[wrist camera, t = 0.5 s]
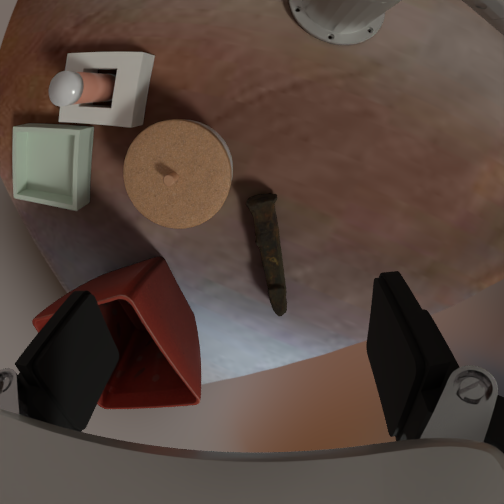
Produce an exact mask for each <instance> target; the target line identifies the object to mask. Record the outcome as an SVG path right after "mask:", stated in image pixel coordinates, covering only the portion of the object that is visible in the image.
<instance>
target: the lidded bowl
mask: <svg viewBox="0 0 504 504" xmlns="http://www.w3.org/2000/svg"><path fill="white" fill-rule="evenodd" d="M232 175H233V162H232V157H231V153H230V151H229V148H228V146H227V144H226V143H225V141H224V140H223V138H222V137H221V136H220V135H219V134H218V133H217V132H216V131H215V130H214V129H212V128H211V127H209V126H207V125H205V124H203V123H201V122H197V121H193V120H186V119H171V120H165V121H161V122H157V123H155V124H153V125H151V126H149V127H148V128H146V129H145V130H143V131H142V132H141V133H140V134H139V135H138V136H137V137H136V138H135V139H134V141H133V142H132V143H131V145H130V147H129V149H128V151H127V154H126V157H125V161H124V167H123V176H124V184H125V187H126V191H127V193H128V195H129V198H130V200H131V201H132V203H133V204H134V206H135V207H136V208H137V209H138V211H139V212H140V213H142V214H143V215H144V216H145V217H146V218H148V219H149V220H151V221H152V222H154V223H156V224H159V225H161V226H165V227H168V228H175V229H184V228H190V227H194V226H197V225H200V224H202V223H204V222H206V221H207V220H209V219H210V218H211V217H213V216H214V215H215V214H216V213H217V212H218V211H219V209H220V208H221V206H222V205H223V204H224V202H225V200H226V198H227V195H228V193H229V190H230V186H231V181H232Z"/></svg>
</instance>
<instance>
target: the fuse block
mask: <svg viewBox="0 0 504 504" xmlns="http://www.w3.org/2000/svg"><path fill="white" fill-rule="evenodd" d="M154 57H155V56H154V55H151V54H148V53H145V52H85V53H68V55H67V61H66V67H65V71H75V72H88V73H97V72H98V70H117V74H116V80H115V86H114V92H113V99H112V106H103V105H93V102H92V103H82V104H73V105H68V106H60V113H59V122H72V123H86V124H99V125H110V126H120V127H129V128H132V127H136V126H140V125H143V121H144V114H145V107H146V101H147V95H148V89H149V83H150V78H151V72H152V67H153V62H154Z"/></svg>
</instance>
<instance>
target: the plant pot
mask: <svg viewBox="0 0 504 504" xmlns="http://www.w3.org/2000/svg"><path fill="white" fill-rule="evenodd" d="M74 291H89V292H90V293H91V294H92V295H94V296H95V298H96V300H97V303H98V305H99V308H100V310H101V313H102V315H103V318H104V320H105V322H106V325H107V327H108V329H109V331H110V334H111V336H112V338H113V340H114V343H115V345H116V347H117V349H118V352H119V360H118V362H117V364H116V366H115V368H114V370H113V372H112V374H111V376H110V378H109V380H108V382H107V384H106V386H105V388H104V390H103V392H102V395H101V397H100V399H99V401H98V403H97V404H98V405H99V406H100V407H102V408H104V409H136V408H137V409H138V408H159V407H175V406H188V405H197V404H199V403H200V398H201V357H200V346H199V338H198V331H197V326H196V321H195V316H194V313H193V312H192V310H191V308H190V306H189V304H188V302H187V301H186V299H185V297H184V295H183V293H182V291H181V290H180V288H179V286H178V284H177V282H176V280H175V278H174V276H173V274H172V272H171V270H170V268H169V267H168V265H167V263H166V261H165V259H164V258H162V257H154V258H151V259H148V260H145V261H142V262H139V263H136V264H133V265H130V266H127V267H124V268H121V269H118V270H115V271H112V272H109V273H106V274H104V275H101V276H99V277H97V278H95V279H92V280H90V281H89V282H87V283H85V284H83V285H81V286H79V287H78V288H76V289H74V290H72V291H71V292H69V293H67V294H66V295H64V296H63V297H61V298H60V299H58V300H57V301H55V302H54V303H53V304H51V305H50V306H48V307H47V308H46V309H44V310H43V311H42V312H41V313H40V314H38V315H37V316H36V317H35V318H34V319H33V321H32V322H33V325H34V327H35V328H36V330H37V331H38V333H39V332H40V330H41V329H42V328H43V327H44V325H45V324H46V323H47V322H48V321H49V319H50V318H51V317H52V316H53V315H54V313H55V312H56V311H57V310H58V309H59V307H60V306H61V305H62V304H63V303H64V302H65V300H66V299H67V298H68V297H69V296H70V295H71V293H72V292H74ZM127 301H128V302H129V303H130V304H131V305H130V304H128V303H127Z"/></svg>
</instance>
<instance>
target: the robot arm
mask: <svg viewBox="0 0 504 504" xmlns="http://www.w3.org/2000/svg"><path fill="white" fill-rule="evenodd" d="M400 1H401V0H289V5H290V9H291V12H292V14H293V16H294V18H295V20H296V21H297V22H298V24H299V25H300V26H301V27H302V28H303V29H304V30H305V31H306V32H308V33H309V34H310V35H312V36H313V37H315V38H317V39H319V40H321V41H324V42H327V43H330V44H336V45H353V44H358V43H361V42H364V41H366V40H367V39H369V38H371V37H372V36H373V35H375V34H376V33H377V31H378V30H379V29H380V28H381V25H382V23H383V21H384V16H385V12H386V11H387V10H389V9H390V8H391V7H393V6H394V5H396V4H397V3H398V2H400ZM462 1H463V2H465V3H466V4H467V5H468V6H469V7H471V8H472V9H473V10H474V11H475V12H477V13H478V14H479V15H480V16H482V17H483V18H484V19H485V20H486V21H487V22H488V23H489V24H491V25H492V26H493V27H494V28H495V29H496V30H498V31H499V32H500V33H501V34H503V35H504V0H462ZM296 9H298V10H299V12H296ZM367 30H370V33H369V32H368V31H367ZM328 36H331V37H332V39H329V38H328ZM367 354H368V358H369V361H370V364H371V368H372V371H373V375H374V379H375V382H376V385H377V389H378V393H379V397H380V400H381V404H382V408H383V412H384V415H385V420H386V424H387V428H388V432H389V435H390V436H391V437H392V436H395V437H396V441H395V442H388V443H380V444H372V445H365V446H357V447H349V448H340V449H339V448H338V449H329V450H315V451H298V452H274V453H240V452H214V451H198V450H187V449H176V448H168V447H160V446H152V445H145V444H139V443H133V442H126V441H120V440H116V439H111V438H105V437H101V436H96V435H92V434H87V433H83V432H81V431H82V430H83V429H85V428H86V426H87V424H88V422H89V420H90V418H91V415H92V413H93V411H94V409H95V407H96V405H97V403H98V401H99V399H100V397H101V395H102V392H103V390H104V388H105V386H106V384H107V382H108V380H109V378H110V376H111V374H112V372H113V370H114V368H115V366H116V364H117V362H118V360H119V352H118V349H117V347H116V345H115V343H114V340H113V338H112V336H111V334H110V331H109V329H108V327H107V325H106V322H105V320H104V318H103V315H102V313H101V310H100V308H99V305H98V303H97V300H96V298H95V296H94V295H92V294H91V293H90V292H89V291H74V292H72V293H71V295H70V296H69V297H68V298H67V299H66V300H65V302H64V303H63V304H62V305H61V306H60V307H59V309H58V310H57V311H56V312H55V313H54V315H53V316H52V317H51V318H50V319H49V321H48V322H47V323H46V324H45V325H44V327H43V328H42V329H41V330H40V332H39V333H38V334H37V336H36V337H35V338H34V339H33V340H32V342H31V343H30V344H29V346H28V347H27V348H26V349H25V351H24V352H23V354H22V355H21V356H20V357H19V359H18V360H17V362H16V363H15V365H16V367H17V368H18V370H19V371H20V373H19V375H17V374H16V372H15V371H14V370H13V369H10V368H7V369H6V368H5V369H3V370H0V504H504V397H502V396H499V395H498V386H497V383H496V380H495V379H494V378H493V376H492V375H491V374H490V373H489V372H488V371H487V370H484V369H482V368H480V367H477V366H463V367H459V365H458V364H457V362H456V360H455V358H454V356H453V354H452V352H451V350H450V349H449V347H448V345H447V343H446V341H445V340H444V338H443V336H442V334H441V333H440V331H439V329H438V327H437V326H436V324H435V322H434V320H433V319H432V317H431V315H430V314H429V312H428V311H427V310H425V309H424V310H422V308H421V307H420V305H419V303H418V302H417V300H416V298H415V297H414V295H413V293H412V292H411V290H410V288H409V287H408V285H407V284H406V282H405V280H404V279H403V277H402V276H401V274H400V273H399V272H398V271H395V272H384V273H381V274H380V276H379V278H375V279H374V285H373V295H372V305H371V314H370V322H369V330H368V337H367Z"/></svg>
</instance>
